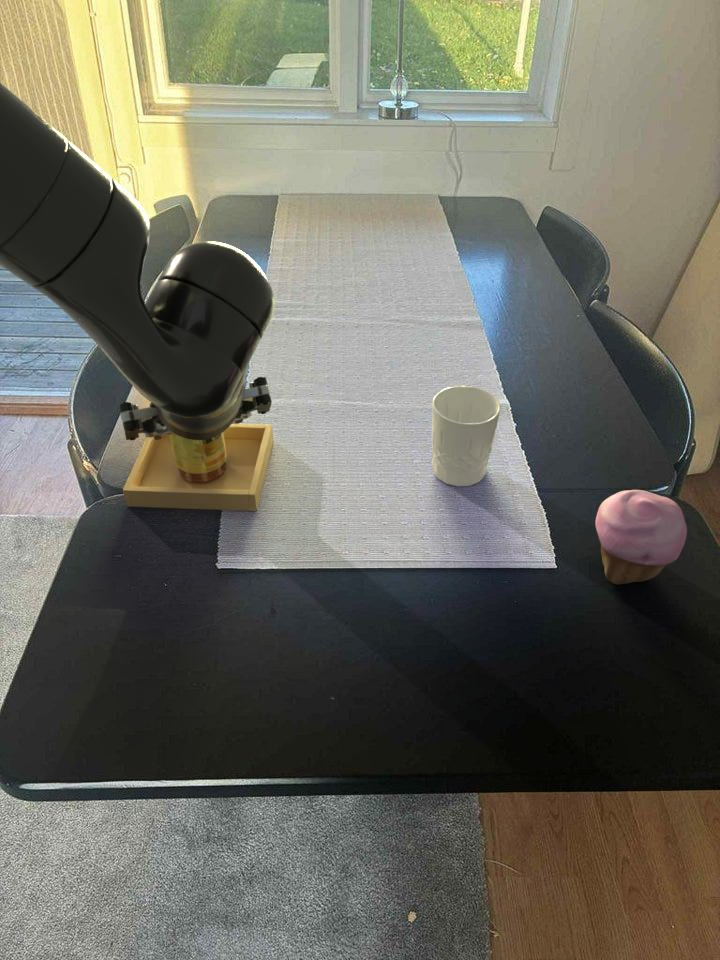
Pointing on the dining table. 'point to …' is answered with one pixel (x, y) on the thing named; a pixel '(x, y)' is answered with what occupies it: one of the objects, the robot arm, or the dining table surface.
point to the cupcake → (639, 535)
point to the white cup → (463, 433)
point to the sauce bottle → (199, 457)
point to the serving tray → (232, 490)
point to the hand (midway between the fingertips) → (196, 422)
